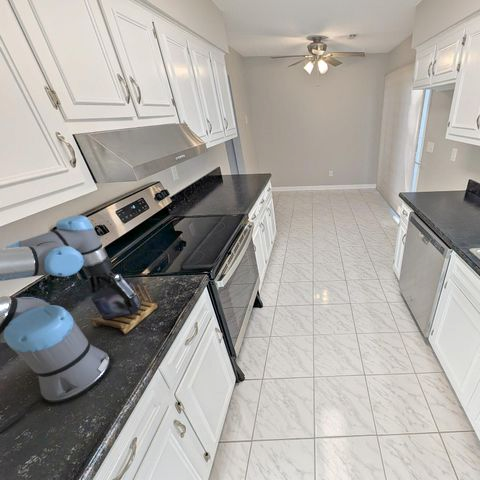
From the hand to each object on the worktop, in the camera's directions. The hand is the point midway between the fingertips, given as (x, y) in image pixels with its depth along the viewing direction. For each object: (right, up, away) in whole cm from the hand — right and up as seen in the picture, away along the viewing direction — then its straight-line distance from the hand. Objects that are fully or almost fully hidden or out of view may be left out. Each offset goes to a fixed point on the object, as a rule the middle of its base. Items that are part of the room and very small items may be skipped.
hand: (122, 309), depth 95 cm
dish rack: (0, -3, +2) cm, 4 cm away
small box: (0, -1, +1) cm, 1 cm away
